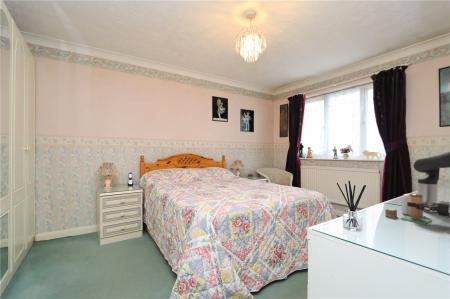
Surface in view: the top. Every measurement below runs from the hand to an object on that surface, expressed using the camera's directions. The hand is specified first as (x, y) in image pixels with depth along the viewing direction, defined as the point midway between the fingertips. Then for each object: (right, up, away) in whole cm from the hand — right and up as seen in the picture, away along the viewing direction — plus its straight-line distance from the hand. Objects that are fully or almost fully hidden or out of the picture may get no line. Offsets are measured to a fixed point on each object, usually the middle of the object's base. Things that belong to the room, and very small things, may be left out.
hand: (410, 203), depth 122 cm
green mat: (+1, -9, -2) cm, 9 cm away
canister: (+1, -7, -2) cm, 7 cm away
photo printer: (+9, -9, +9) cm, 15 cm away
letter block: (-7, -9, +5) cm, 12 cm away
